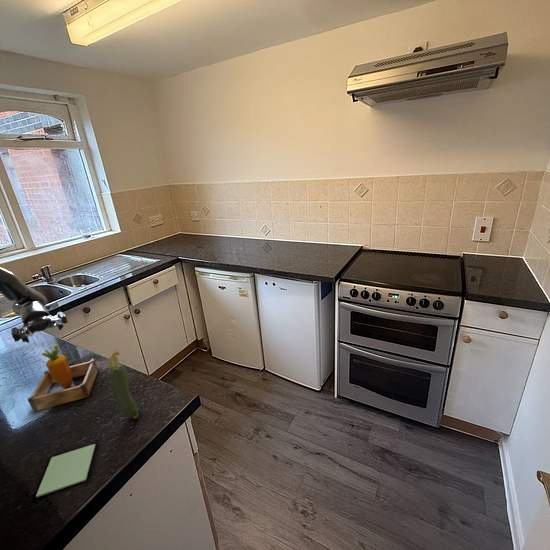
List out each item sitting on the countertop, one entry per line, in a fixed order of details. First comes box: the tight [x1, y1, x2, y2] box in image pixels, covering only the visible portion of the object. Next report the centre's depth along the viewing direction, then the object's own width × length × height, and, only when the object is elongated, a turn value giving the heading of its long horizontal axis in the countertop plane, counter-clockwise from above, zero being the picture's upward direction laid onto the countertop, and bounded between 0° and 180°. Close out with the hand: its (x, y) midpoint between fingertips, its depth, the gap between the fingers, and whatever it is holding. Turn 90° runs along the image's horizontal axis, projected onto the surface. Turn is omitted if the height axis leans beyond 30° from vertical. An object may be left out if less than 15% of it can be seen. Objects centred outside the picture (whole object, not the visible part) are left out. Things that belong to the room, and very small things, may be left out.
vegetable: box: [106, 350, 139, 420], centre depth 74 cm, size 4×4×20 cm
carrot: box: [41, 344, 73, 389], centre depth 87 cm, size 5×5×15 cm
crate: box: [27, 358, 99, 413], centre depth 89 cm, size 14×13×4 cm
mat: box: [35, 443, 96, 498], centre depth 65 cm, size 9×9×1 cm
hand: (43, 333), depth 92 cm, fingers open, 8 cm apart
